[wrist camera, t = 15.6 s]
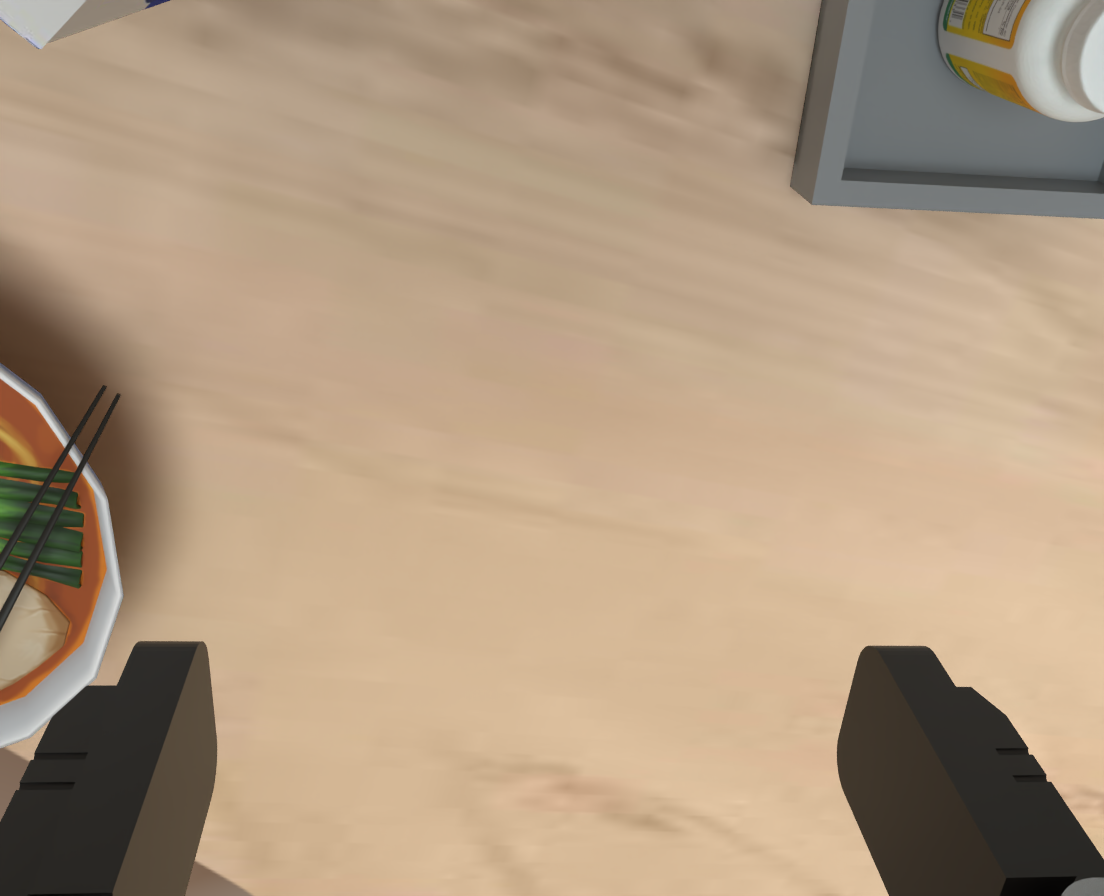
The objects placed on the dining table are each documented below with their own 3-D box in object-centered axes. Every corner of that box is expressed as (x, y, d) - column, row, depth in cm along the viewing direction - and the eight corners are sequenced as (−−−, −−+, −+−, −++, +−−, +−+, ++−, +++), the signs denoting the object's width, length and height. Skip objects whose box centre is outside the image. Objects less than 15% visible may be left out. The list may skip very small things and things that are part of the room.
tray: (857, -206, 38) (887, -213, 35) (1220, -173, 39) (1276, -178, 36) (790, 186, 44) (811, 204, 41) (1104, 202, 46) (1144, 220, 43)
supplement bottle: (927, -35, 40) (1055, -16, 31) (1066, -77, 40) (1233, -69, 31) (940, 107, 42) (1062, 160, 34) (1071, 68, 42) (1227, 112, 34)
